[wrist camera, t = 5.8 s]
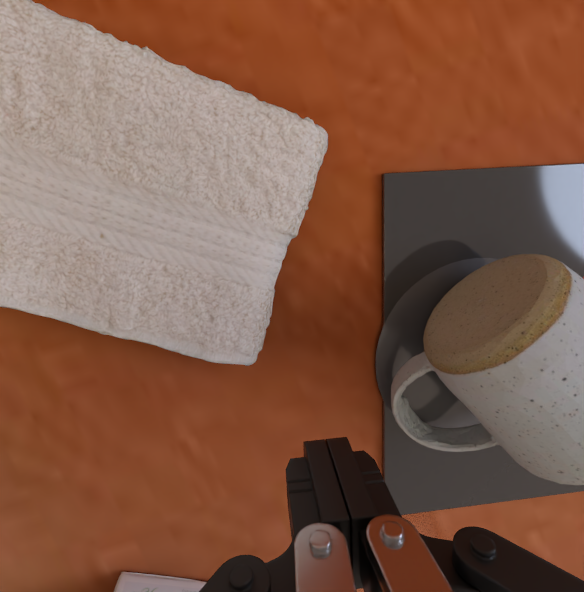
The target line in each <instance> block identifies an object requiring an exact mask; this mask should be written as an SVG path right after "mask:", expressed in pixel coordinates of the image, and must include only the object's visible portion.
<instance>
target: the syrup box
mask: <svg viewBox="0 0 584 592" xmlns="http://www.w3.org/2000/svg"><path fill="white" fill-rule="evenodd" d="M206 583H207V582H203V581H198V580H192V579H185V578H177V577H171V576H160V575H152V574H142V573H132V572H122V573H121V575H120V576H119V579H118V581H117V584H116V586H115V589H114V592H199V591H200V590H201V589H202V587H203V586H204V585H205V584H206Z"/></svg>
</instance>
